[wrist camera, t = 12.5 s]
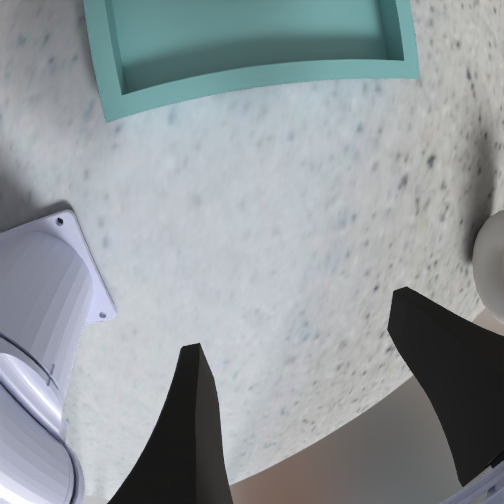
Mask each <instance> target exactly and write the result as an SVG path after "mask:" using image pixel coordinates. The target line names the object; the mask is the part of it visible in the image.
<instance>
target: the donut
mask: <svg viewBox="0 0 504 504" xmlns="http://www.w3.org/2000/svg"><path fill="white" fill-rule="evenodd" d="M472 264H473V276H474V280H475V284H476V288H477V291H478V293H479V296H480V298H481V300H482V302H483V304H484V305H485V307H486V308H487V309H488V311H489V312H490V314H491V315H492V316H493V317H494V318H495V319H497V320H498V321H499V322H500V323H502V324H504V210H501V211H499V212H498V213H496V214H494V215H493V216H491V217H489V218H488V219H487V220H486V222H485V223H484V224H483V226H482V227H481V229H480V230H479V232H478V234H477V237H476V240H475V243H474V249H473V259H472Z"/></svg>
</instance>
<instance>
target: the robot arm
mask: <svg viewBox="0 0 504 504" xmlns="http://www.w3.org/2000/svg"><path fill="white" fill-rule="evenodd" d="M58 218H61V219H62V220H63V223H60V222H59V221H58ZM101 312H103V313H105V314H106V315H103V314H101ZM116 314H117V310H116V308H115V306H114V304H113V302H112V300H111V298H110V295H109V293H108V291H107V289H106V287H105V285H104V283H103V281H102V278H101V276H100V274H99V272H98V270H97V267H96V265H95V263H94V261H93V258H92V256H91V254H90V251H89V249H88V246H87V244H86V242H85V239H84V237H83V234H82V232H81V229H80V226H79V224H78V221H77V219H76V216H75V214H74V212H73V211H71V210H69V209H65V210H62V211H59V212H56V213H53V214H51V215H48V216H45V217H42V218H39V219H36V220H34V221H31V222H28V223H25V224H23V225H20V226H17V227H15V228H12V229H9V230H7V231H4V232H2V233H0V504H82V503H83V500H84V493H85V479H84V474H83V470H82V467H81V464H80V462H79V460H78V458H77V456H76V454H75V453H74V452H73V451H72V449H71V448H70V447H69V446H68V445H67V444H66V443H65V441H66V434H67V428H68V423H67V422H66V421H65V420H64V418H63V415H62V412H63V407H64V402H65V397H66V393H67V389H68V385H69V381H70V376H71V373H72V369H73V365H74V361H75V357H76V354H77V350H78V347H79V343H80V340H81V336H82V333H83V330H84V326H85V324H90V323H95V322H100V321H106V320H111V319H114V318H115V317H116ZM387 330H388V332H389V334H390V336H391V338H392V340H393V342H394V344H395V346H396V348H397V350H398V352H399V353H400V355H401V356H402V358H403V359H404V361H405V362H406V364H407V365H408V367H409V368H410V370H411V371H412V373H413V374H414V376H415V377H416V379H417V380H418V382H419V383H420V385H421V386H422V388H423V389H424V391H425V392H426V394H427V396H428V398H429V399H430V401H431V403H432V405H433V408H434V410H435V412H436V414H437V416H438V418H439V420H440V423H441V425H442V428H443V430H444V433H445V435H446V438H447V441H448V444H449V447H450V449H451V452H452V455H453V459H454V463H455V467H456V471H457V475H458V479H459V481H460V483H461V485H462V487H464V486H465V485H467V484H468V483H470V482H471V481H473V480H475V479H476V478H477V477H479V476H480V475H482V474H483V473H484V472H486V471H487V470H489V469H490V468H491V467H492V468H493V469H492V470H490V471H489V472H488V473H486V474H485V475H483V476H482V477H481V478H479V479H478V480H476V481H475V482H473V483H472V484H470V485H469V486H467V487H466V488H464V489H463V490H461V491H460V492H458V493H456V494H455V495H453V496H452V497H450V498H448V499H447V500H445V501H443V502H441V503H440V504H469V503H470V502H471V501H473V500H474V499H476V498H477V497H479V496H480V495H482V494H483V493H484V492H486V491H487V490H488V492H487V497H486V498H485V499H483V500H482V501H480V502H479V503H477V504H504V336H501V335H499V334H496V333H494V332H491V331H489V330H486V329H484V328H482V327H480V326H477V325H476V324H473V323H472V322H470V321H468V320H466V319H464V318H462V317H460V316H458V315H456V314H454V313H453V312H451V311H449V310H447V309H445V308H444V307H442V306H440V305H438V304H437V303H435V302H433V301H432V300H430V299H428V298H426V297H425V296H423V295H421V294H419V293H418V292H416V291H414V290H412V289H410V288H408V287H404V288H401V289H398V290H395V291H393V297H392V304H391V311H390V317H389V323H388V329H387ZM107 504H233V500H232V497H231V492H230V488H229V483H228V479H227V474H226V470H225V464H224V457H223V446H222V435H221V423H220V411H219V402H218V396H217V391H216V386H215V381H214V377H213V375H212V372H211V370H210V367H209V365H208V362H207V360H206V357H205V355H204V352H203V350H202V347H201V345H200V343H197V344H192V345H187V346H183V347H182V348H181V350H180V354H179V358H178V362H177V366H176V370H175V373H174V377H173V380H172V383H171V386H170V389H169V392H168V395H167V398H166V401H165V403H164V406H163V408H162V411H161V413H160V416H159V419H158V421H157V423H156V426H155V428H154V430H153V432H152V434H151V436H150V438H149V440H148V442H147V444H146V446H145V448H144V450H143V452H142V454H141V455H140V457H139V459H138V461H137V462H136V464H135V466H134V467H133V469H132V471H131V472H130V474H129V475H128V477H127V478H126V479H125V481H124V482H123V484H122V485H121V487H120V488H119V489H118V491H117V492H116V494H115V495H114V496H113V497H112V499H111V500H110V501H109V502H108V503H107Z"/></svg>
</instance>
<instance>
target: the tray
mask: <svg viewBox="0 0 504 504" xmlns="http://www.w3.org/2000/svg"><path fill="white" fill-rule="evenodd" d="M83 4H84V12H85V19H86V26H87V32H88V38H89V44H90V50H91V56H92V61H93V66H94V71H95V76H96V81H97V86H98V91H99V95H100V100H101V104H102V108H103V113H104V117H105V121H106V123H107V122H110V121H113V120H116V119H119V118H123V117H126V116H129V115H133V114H136V113H139V112H143V111H147V110H150V109H154V108H158V107H162V106H165V105H169V104H174V103H178V102H182V101H186V100H191V99H195V98H200V97H205V96H210V95H215V94H220V93H225V92H231V91H237V90H243V89H249V88H256V87H263V86H270V85H278V84H287V83H296V82H307V81H319V80H334V79H357V78H405V79H420V73H419V63H418V53H417V45H416V37H415V30H414V24H413V18H412V12H411V6H410V1H409V0H83Z"/></svg>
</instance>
